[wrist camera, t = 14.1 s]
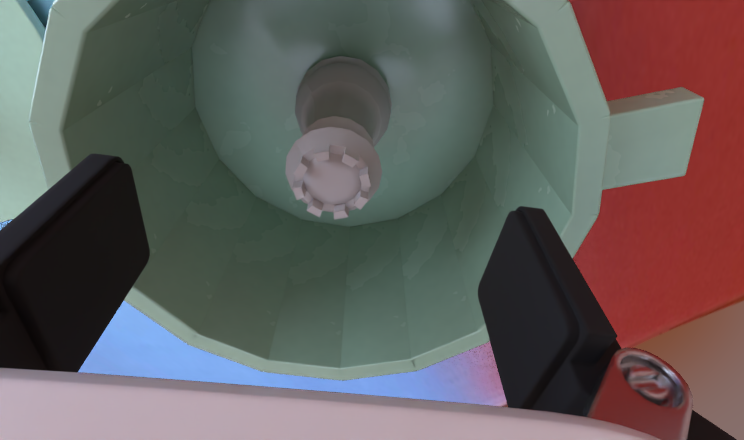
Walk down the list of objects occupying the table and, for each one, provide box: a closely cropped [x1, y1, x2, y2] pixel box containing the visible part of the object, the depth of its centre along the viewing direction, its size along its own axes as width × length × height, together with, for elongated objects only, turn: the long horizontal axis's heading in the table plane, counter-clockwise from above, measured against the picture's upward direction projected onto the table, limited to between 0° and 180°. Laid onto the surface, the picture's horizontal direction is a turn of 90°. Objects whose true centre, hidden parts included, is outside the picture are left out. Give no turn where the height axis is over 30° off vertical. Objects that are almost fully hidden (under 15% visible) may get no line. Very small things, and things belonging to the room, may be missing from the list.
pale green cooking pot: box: [29, 0, 704, 381], centre depth 16 cm, size 16×21×10 cm
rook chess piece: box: [285, 56, 392, 220], centre depth 17 cm, size 4×4×8 cm
